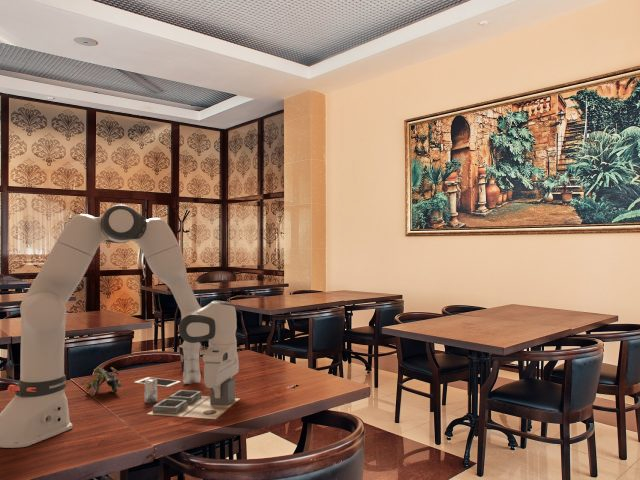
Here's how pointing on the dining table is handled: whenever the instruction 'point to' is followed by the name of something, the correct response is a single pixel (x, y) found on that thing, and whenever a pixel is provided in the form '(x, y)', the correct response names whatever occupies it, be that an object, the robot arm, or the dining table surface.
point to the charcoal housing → (224, 393)
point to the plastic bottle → (191, 362)
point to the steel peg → (150, 390)
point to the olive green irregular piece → (106, 377)
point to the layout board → (189, 406)
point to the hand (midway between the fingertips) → (222, 394)
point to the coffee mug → (183, 356)
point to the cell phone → (159, 382)
